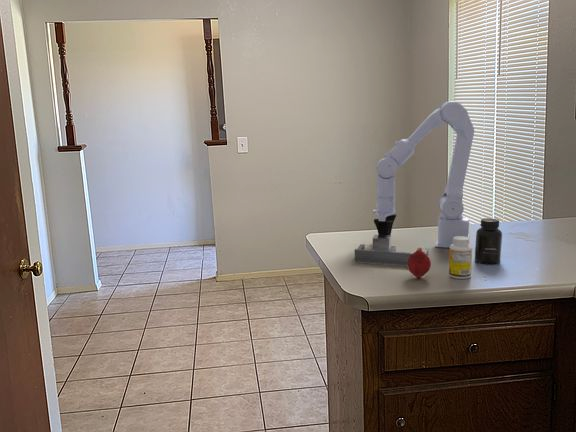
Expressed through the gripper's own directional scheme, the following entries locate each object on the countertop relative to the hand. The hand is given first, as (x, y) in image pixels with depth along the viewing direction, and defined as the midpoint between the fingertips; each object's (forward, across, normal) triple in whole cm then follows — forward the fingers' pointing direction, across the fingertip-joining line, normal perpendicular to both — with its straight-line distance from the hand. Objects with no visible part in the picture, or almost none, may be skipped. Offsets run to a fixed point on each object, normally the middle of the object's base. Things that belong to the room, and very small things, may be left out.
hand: (385, 239), depth 179 cm
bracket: (+2, +18, +5) cm, 19 cm away
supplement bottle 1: (+2, +28, +24) cm, 37 cm away
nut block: (+2, +7, 0) cm, 7 cm away
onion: (+2, +33, +14) cm, 35 cm away
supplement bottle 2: (+2, +12, +31) cm, 33 cm away
